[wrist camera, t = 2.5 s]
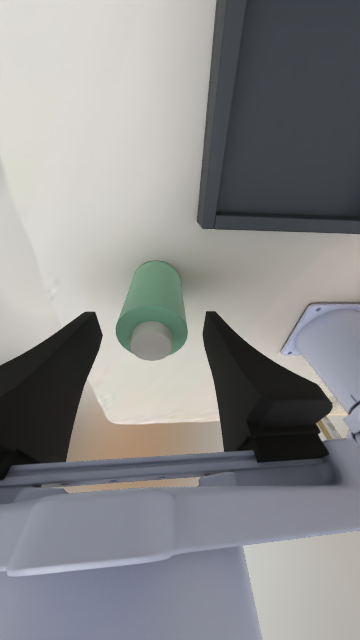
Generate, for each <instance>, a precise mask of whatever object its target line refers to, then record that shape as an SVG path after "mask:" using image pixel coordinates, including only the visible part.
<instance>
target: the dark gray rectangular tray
mask: <svg viewBox="0 0 360 640" xmlns="http://www.w3.org/2000/svg"><path fill="white" fill-rule="evenodd" d="M197 222H198V223H199V225H200V226H201V227H202V228H203V229H225V230H256V231H287V232H317V233H348V234H360V0H217V2H216V13H215V24H214V36H213V47H212V58H211V70H210V81H209V92H208V103H207V115H206V126H205V137H204V148H203V160H202V171H201V182H200V193H199V205H198V216H197Z"/></svg>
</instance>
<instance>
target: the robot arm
mask: <svg viewBox="0 0 360 640" xmlns="http://www.w3.org/2000/svg"><path fill="white" fill-rule="evenodd" d="M102 336H103V335H102V332H101V329H100V325H99V322H98V319H97V316H96V313H95V312H84V313H83V314H81V315H80V316H78V317H77V318H76V319H74V320H73V321H72V322H70V323H69V324H68V325H66V326H65V327H63V328H62V329H61V330H59V331H58V332H57V333H55V334H54V335H52V336H51V337H49V338H48V339H46V340H45V341H43V342H42V343H40V344H39V345H37V346H35V347H34V348H32V349H31V350H29V351H27V352H25V353H24V354H22V355H20V356H18V357H16V358H14V359H12V360H10V361H8V362H6V363H4V364H2V365H0V640H262V635H261V631H260V626H259V621H258V616H257V611H256V607H255V602H254V597H253V592H252V588H251V583H250V578H249V573H248V568H247V564H246V559H245V555H244V550H243V545H251V544H259V543H266V542H274V541H282V540H290V539H298V538H306V537H313V536H321V535H330V534H337V533H345V532H353V531H360V304H311V305H309V306H308V308H307V309H306V311H305V313H304V314H303V316H302V317H301V319H300V321H299V322H298V324H297V326H296V327H295V329H294V331H293V332H292V334H291V336H290V337H289V339H288V341H287V342H286V344H285V346H284V347H283V349H282V351H281V353H282V355H302V356H303V357H304V358H305V359H306V361H307V362H308V363H309V365H310V366H311V367H312V368H313V370H314V371H315V372H316V374H317V375H318V376H319V377H320V379H321V380H322V381H323V383H324V384H325V385H326V386H327V388H328V389H329V390H330V392H331V393H332V394H333V395H334V397H335V398H336V399H337V400H338V402H339V403H340V404H341V406H342V407H343V408H344V409H345V411H346V412H347V413H348V415H349V416H347V417H346V418H344V419H343V420H344V422H345V423H346V425H347V426H348V427H349V431H348V432H347V438H342V439H329V440H325V441H322V440H321V439H320V437H319V435H318V434H320V433H321V431H320V429H319V427H318V426H317V424H316V423H317V422H319V421H320V420H321V419H322V418H324V417H325V416H326V415H328V414H329V413H330V412H331V409H332V403H331V402H330V400H329V399H328V398H327V396H326V395H325V394H324V392H323V391H322V389H321V388H320V387H319V386H318V384H316V383H314V382H311V381H309V380H307V379H305V378H303V377H301V376H299V375H297V374H295V373H293V372H291V371H289V370H288V369H286V368H284V367H282V366H280V365H279V364H277V363H275V362H274V361H272V360H271V359H269V358H268V357H266V356H264V355H263V354H262V353H260V352H259V351H257V350H256V349H255V348H253V347H252V346H251V345H249V344H248V343H247V342H246V341H245V340H243V339H242V338H241V337H240V336H239V335H238V334H237V333H236V332H235V331H234V330H233V329H231V328H230V327H229V325H228V324H227V323H226V322H225V321H224V320H223V319H222V318H221V317H220V316H219V315H218V314H217V313H216V312H215V311H206V316H205V322H204V328H203V341H204V347H205V351H206V354H207V358H208V361H209V365H210V368H211V372H212V375H213V380H214V385H215V390H216V396H217V402H218V408H219V415H220V422H221V429H222V438H223V446H224V452H218V453H202V454H186V455H172V456H171V455H170V456H155V457H140V458H139V457H138V458H123V459H107V460H91V461H75V462H66V458H67V453H68V448H69V442H70V438H71V434H72V429H73V425H74V421H75V417H76V413H77V409H78V405H79V402H80V398H81V395H82V391H83V388H84V385H85V382H86V380H87V377H88V375H89V372H90V370H91V368H92V365H93V363H94V361H95V358H96V356H97V353H98V351H99V348H100V344H101V340H102ZM203 476H205V477H203ZM189 477H201V478H200V479H199V486H197V487H149V488H129V489H115V490H103V491H93V492H81V493H67V492H66V491H65V490H64V489H62V488H52V487H66V486H79V485H93V484H106V483H121V482H134V481H148V480H161V479H176V478H189Z"/></svg>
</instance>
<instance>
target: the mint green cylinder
mask: <svg viewBox="0 0 360 640" xmlns="http://www.w3.org/2000/svg"><path fill="white" fill-rule="evenodd" d="M187 334H188V331H187V323H186V316H185V309H184V301H183V294H182V287H181V280H180V276H179V274H178V272H177V271H176V270H175V269H174V268H173V267H172V266H171V265H169V264H167V263H165V262H162V261H150V262H147V263H145V264H143V265H141V266H140V267H139V268H138V269H137V271H136V272H135V274H134V277H133V280H132V283H131V286H130V288H129V291H128V294H127V297H126V300H125V302H124V305H123V308H122V311H121V314H120V316H119V319H118V322H117V325H116V335H117V338H118V340H119V342H120V343H121V345H122V346H123V347H124V348H125V349H127V350H128V351H129V352H131V353H133V354H134V355H136V356H137V357H139V358H141V359H144V360H151V361H153V360H160V359H162V358H164V357H166V356H168V355H171V354H173V353H175V352H176V351H178V350H179V349H180V348H181V347H182V346H183V345H184V343H185V341H186V339H187Z"/></svg>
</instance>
